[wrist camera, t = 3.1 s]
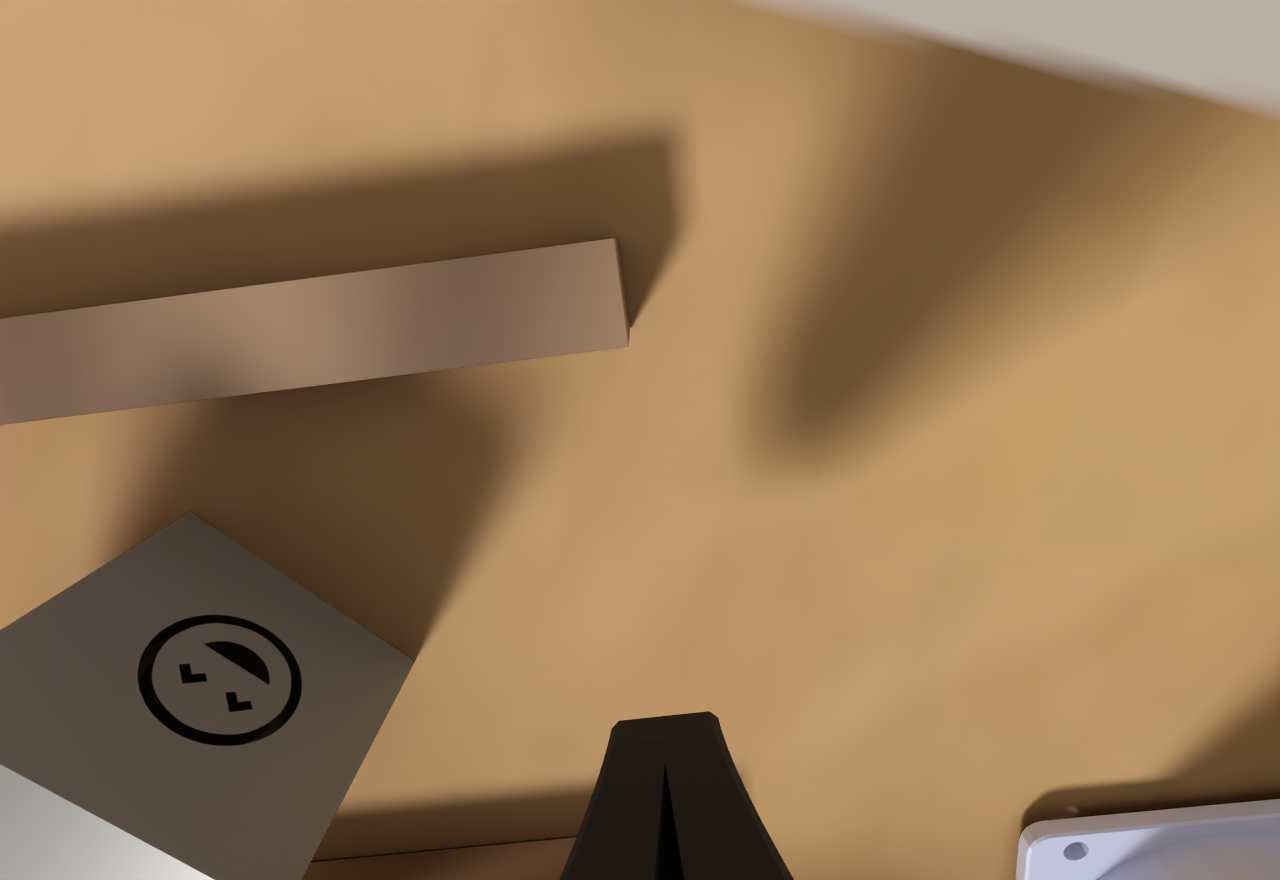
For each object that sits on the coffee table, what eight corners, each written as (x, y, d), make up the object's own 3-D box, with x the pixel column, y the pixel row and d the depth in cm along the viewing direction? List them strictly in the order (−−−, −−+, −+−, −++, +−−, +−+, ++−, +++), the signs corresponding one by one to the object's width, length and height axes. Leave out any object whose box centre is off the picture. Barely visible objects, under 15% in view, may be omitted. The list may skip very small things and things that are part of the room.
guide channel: (616, 233, 10) (608, 235, 7) (700, 877, 14) (715, 1035, 12) (-406, 368, 11) (-784, 418, 8) (-28, 943, 15) (-182, 1108, 12)
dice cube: (285, 803, 14) (101, 1100, 9) (70, 679, 13) (-262, 942, 8) (415, 659, 13) (282, 915, 8) (191, 509, 12) (-115, 702, 7)
